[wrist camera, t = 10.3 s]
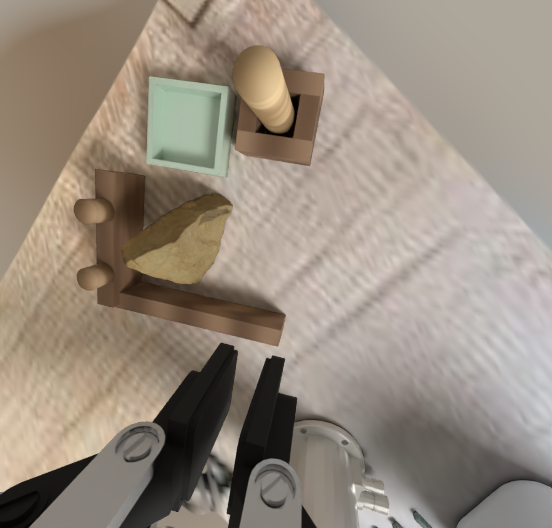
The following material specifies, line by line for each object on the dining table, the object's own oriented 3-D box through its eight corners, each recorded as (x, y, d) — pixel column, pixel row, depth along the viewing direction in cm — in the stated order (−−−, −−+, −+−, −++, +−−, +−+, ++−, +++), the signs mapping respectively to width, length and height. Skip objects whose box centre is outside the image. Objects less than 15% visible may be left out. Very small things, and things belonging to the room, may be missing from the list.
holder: (323, 91, 26) (324, 73, 22) (309, 165, 28) (308, 161, 24) (255, 82, 27) (244, 64, 23) (246, 155, 29) (235, 149, 25)
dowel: (300, 111, 27) (284, 48, 16) (294, 142, 28) (276, 105, 16) (271, 107, 27) (235, 42, 16) (267, 138, 28) (229, 98, 17)
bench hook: (307, 204, 29) (302, 207, 22) (283, 329, 33) (272, 365, 26) (125, 172, 32) (69, 165, 25) (124, 292, 36) (75, 315, 29)
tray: (236, 95, 28) (228, 86, 25) (227, 177, 30) (218, 175, 27) (163, 86, 29) (149, 76, 26) (160, 166, 31) (146, 163, 28)
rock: (205, 162, 28) (128, 209, 29) (212, 205, 22) (114, 261, 23) (254, 232, 35) (190, 266, 36) (269, 277, 29) (192, 317, 30)
